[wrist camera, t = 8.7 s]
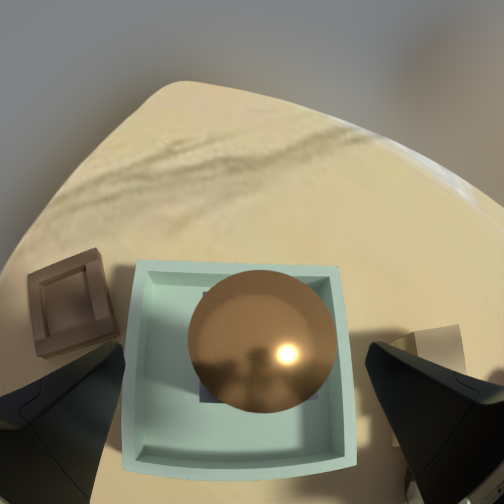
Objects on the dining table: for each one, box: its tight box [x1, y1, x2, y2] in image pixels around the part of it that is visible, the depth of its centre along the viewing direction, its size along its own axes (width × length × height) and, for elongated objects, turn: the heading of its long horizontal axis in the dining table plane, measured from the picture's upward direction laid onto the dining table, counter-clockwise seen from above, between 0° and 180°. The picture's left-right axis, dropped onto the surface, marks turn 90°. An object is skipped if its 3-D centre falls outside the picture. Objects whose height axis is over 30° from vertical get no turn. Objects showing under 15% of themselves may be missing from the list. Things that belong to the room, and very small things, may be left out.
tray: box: [121, 259, 357, 481], centre depth 16 cm, size 14×14×3 cm
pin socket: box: [28, 248, 119, 359], centre depth 17 cm, size 7×7×1 cm
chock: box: [389, 324, 466, 447], centre depth 16 cm, size 8×5×4 cm, turn 1°
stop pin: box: [188, 270, 337, 414], centre depth 12 cm, size 4×4×11 cm
